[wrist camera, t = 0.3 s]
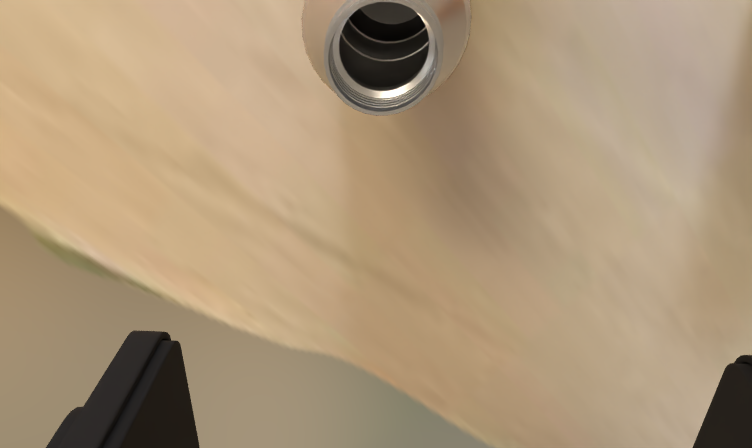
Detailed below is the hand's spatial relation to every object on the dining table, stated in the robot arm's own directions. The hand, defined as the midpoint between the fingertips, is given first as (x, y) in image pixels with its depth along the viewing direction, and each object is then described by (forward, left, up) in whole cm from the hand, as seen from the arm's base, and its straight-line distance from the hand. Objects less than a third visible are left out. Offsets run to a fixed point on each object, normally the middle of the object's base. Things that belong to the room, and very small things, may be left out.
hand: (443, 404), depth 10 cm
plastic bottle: (-3, -2, -31) cm, 31 cm away
